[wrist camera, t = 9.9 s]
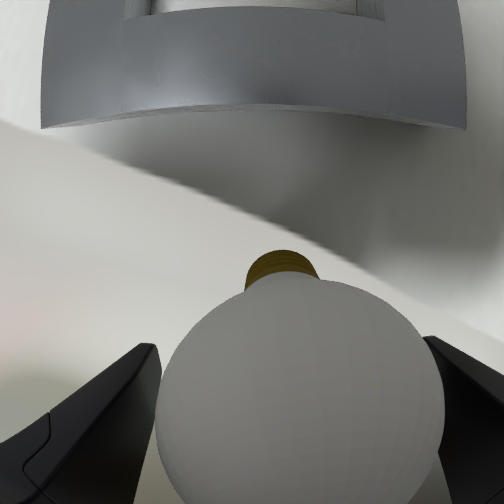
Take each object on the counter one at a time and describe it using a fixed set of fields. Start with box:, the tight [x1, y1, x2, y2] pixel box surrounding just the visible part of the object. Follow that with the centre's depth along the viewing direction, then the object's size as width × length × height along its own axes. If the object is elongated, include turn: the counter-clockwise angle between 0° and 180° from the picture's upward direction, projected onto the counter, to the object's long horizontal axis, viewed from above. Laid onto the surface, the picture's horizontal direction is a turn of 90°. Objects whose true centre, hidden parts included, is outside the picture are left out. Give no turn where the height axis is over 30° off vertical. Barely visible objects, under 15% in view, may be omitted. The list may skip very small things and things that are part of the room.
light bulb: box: [155, 250, 445, 504], centre depth 8 cm, size 6×6×10 cm
